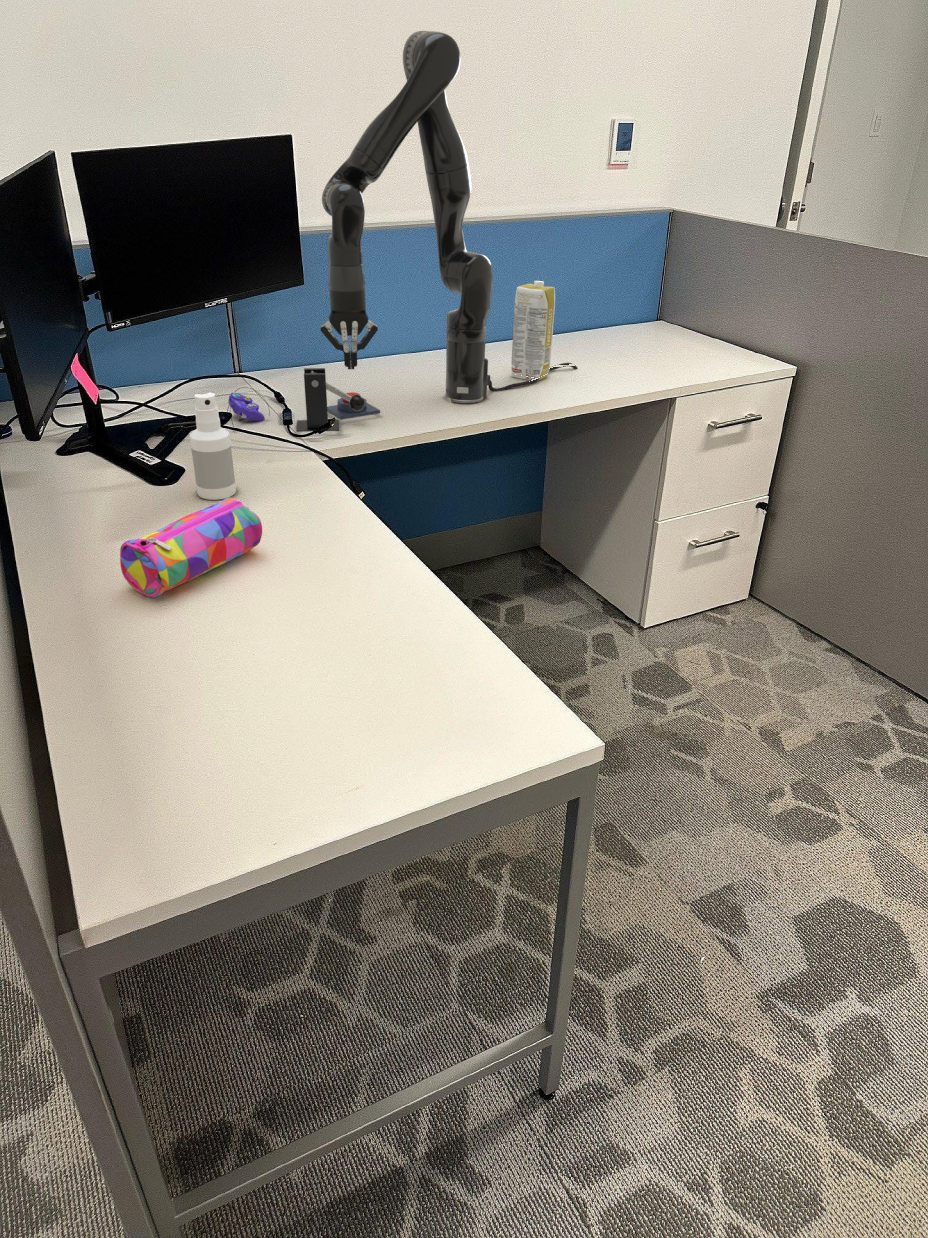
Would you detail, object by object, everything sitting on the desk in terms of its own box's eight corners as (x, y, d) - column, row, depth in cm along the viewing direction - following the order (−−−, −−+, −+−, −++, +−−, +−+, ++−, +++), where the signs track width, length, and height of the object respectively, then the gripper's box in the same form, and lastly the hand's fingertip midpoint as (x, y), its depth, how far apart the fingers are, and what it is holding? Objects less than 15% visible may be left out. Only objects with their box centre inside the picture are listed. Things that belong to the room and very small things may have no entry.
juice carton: (552, 376, 231) (560, 281, 218) (538, 383, 225) (545, 285, 213) (521, 370, 235) (527, 277, 223) (507, 377, 229) (512, 281, 217)
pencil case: (161, 610, 121) (151, 552, 116) (116, 592, 125) (105, 535, 120) (270, 553, 137) (265, 500, 132) (226, 538, 141) (220, 486, 136)
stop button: (355, 398, 198) (355, 391, 198) (362, 403, 196) (362, 395, 195) (341, 401, 197) (341, 393, 196) (348, 405, 194) (348, 397, 193)
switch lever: (359, 410, 189) (367, 397, 188) (360, 415, 186) (368, 402, 185) (305, 381, 184) (312, 367, 183) (305, 385, 182) (312, 371, 180)
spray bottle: (202, 502, 153) (188, 402, 144) (193, 489, 158) (179, 391, 149) (240, 496, 156) (229, 397, 147) (230, 483, 161) (219, 387, 152)
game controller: (280, 406, 190) (241, 406, 183) (270, 438, 194) (232, 439, 187) (256, 383, 194) (217, 382, 187) (247, 415, 199) (208, 415, 191)
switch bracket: (338, 424, 192) (335, 366, 186) (339, 435, 186) (336, 375, 180) (297, 425, 191) (293, 366, 184) (296, 435, 185) (292, 375, 178)
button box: (364, 407, 203) (363, 392, 201) (380, 417, 197) (380, 402, 196) (325, 413, 198) (324, 398, 197) (340, 423, 193) (339, 408, 191)
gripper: (315, 290, 180) (321, 373, 189) (379, 289, 181) (381, 372, 190) (315, 283, 186) (321, 364, 195) (377, 282, 188) (380, 363, 197)
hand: (351, 368), depth 193 cm, fingers closed
